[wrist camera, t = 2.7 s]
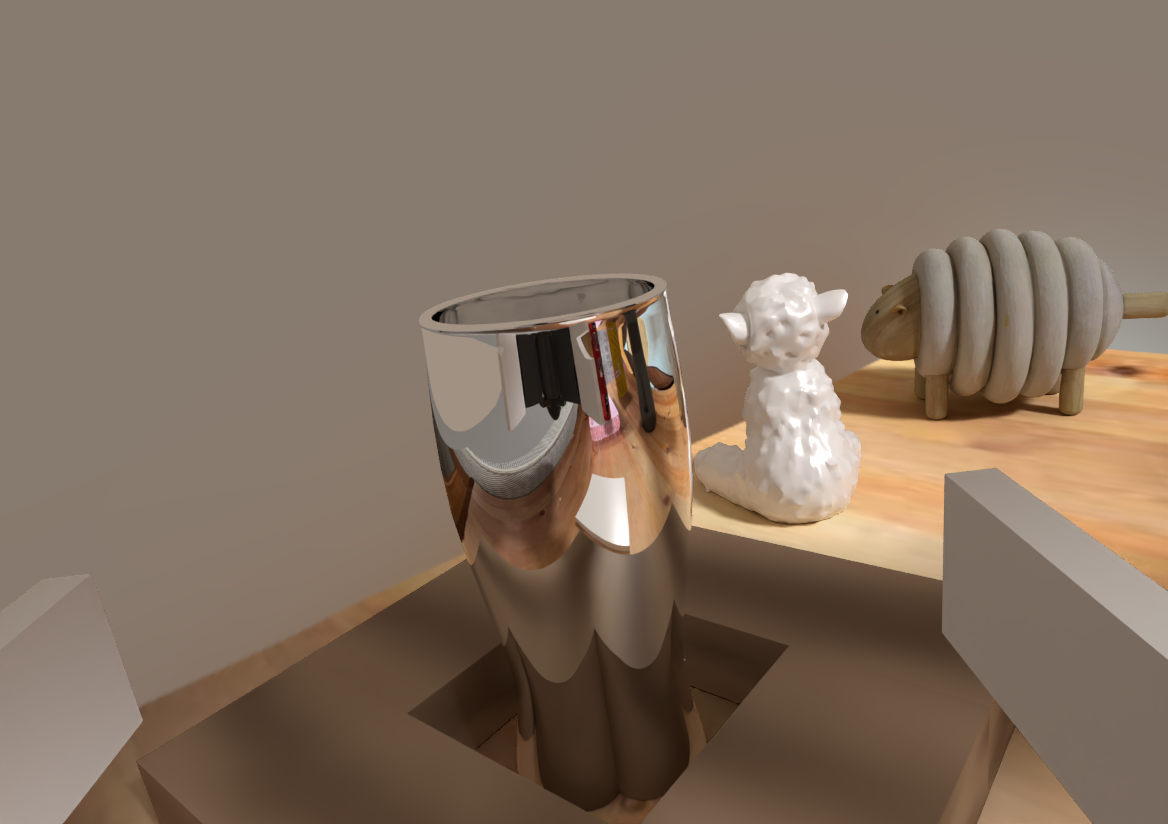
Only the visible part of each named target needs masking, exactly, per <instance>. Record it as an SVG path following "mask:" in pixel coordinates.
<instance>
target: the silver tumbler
mask: <svg viewBox="0 0 1168 824" xmlns="http://www.w3.org/2000/svg"><path fill="white" fill-rule="evenodd" d="M419 323H420V325H421V329H422V335H423V343H424V350H425V359H426V368H427V378H428V387H429V395H430V403H431V411H432V419H433V426H434V433H435V439H436V444H437V450H438V456H439V462H440V468H441V472H442V476H443V481H444V485H445V489H446V493H447V497H448V501H449V506H450V510H451V513H452V517H453V520H454V523H455V526H456V528H457V531H458V534H459V537H460V540H461V543H462V546H463V549H464V552H465V555H466V558H467V560H468V563H469V565H470V568H471V570H472V573H473V575H474V578H475V580H476V583H477V585H478V588H479V590H480V593H481V595H482V598H483V600H484V602H485V605H486V607H487V609H488V612H489V614H490V617H491V619H492V621H493V624H494V626H495V628H496V631H497V633H498V636H499V638H500V641H501V644H502V646H503V649H504V651H505V654H506V657H507V659H508V662H509V666H510V669H511V673H512V677H513V680H514V685H515V692H516V698H517V714H518V721H517V769H518V774H519V775H520V776H522V777H524V778H526V779H528V780H530V781H531V782H533V783H535V784H537V785H539V786H541V787H542V788H544V789H546V790H548V791H550V792H552V793H553V794H555V795H557V796H559V797H561V798H563V799H564V800H566V801H568V802H570V803H572V804H574V805H575V806H577V807H579V808H581V809H583V810H585V811H586V812H588V813H590V814H592V815H594V816H596V817H597V818H599V819H601V820H603V821H605V822H607V823H608V824H641V822H642V821H643V820H644V819H645V818H646V816H647V815H648V814H649V813H650V812H651V810H652V809H653V808H654V807H655V806H656V804H657V803H658V802H659V801H660V800H661V798H662V797H663V796H664V795H665V794H666V792H667V791H668V790H669V789H670V788H671V786H672V785H673V784H674V783H675V782H676V780H677V779H678V778H679V777H680V776H681V774H682V773H683V772H684V771H685V770H686V768H687V767H688V766H689V765H690V764H691V762H692V761H693V760H694V759H695V758H696V756H697V755H698V754H699V753H700V752H701V751H702V749H703V748H704V747H705V746H706V745H707V743H706V737H705V733H704V729H703V726H702V723H701V720H700V717H699V714H698V711H697V708H696V705H695V702H694V699H693V696H692V693H691V690H690V686H689V682H688V678H687V674H686V667H685V659H684V648H683V623H684V607H685V595H686V585H687V574H688V563H689V551H690V538H691V526H692V496H693V469H692V453H691V438H690V427H689V419H688V411H687V405H686V397H685V389H684V383H683V377H682V371H681V366H680V360H679V354H678V349H677V344H676V339H675V334H674V329H673V324H672V318H671V314H670V307H669V301H668V294H667V283H666V281H664V280H663V279H661V278H659V277H656V276H651V275H642V274H599V275H584V276H573V277H565V278H564V277H563V278H555V279H548V280H540V281H534V282H528V283H522V284H516V285H510V286H505V287H500V288H495V289H491V290H486V291H482V292H478V293H474V294H470V295H466V296H463V297H459V298H456V299H453V300H450V301H447V302H444V303H441V304H439V305H436V306H434V307H432V308H430V309H429V310H427V311H425V312H424V313H423V314H422V315H421V316H420V319H419Z"/></svg>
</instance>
